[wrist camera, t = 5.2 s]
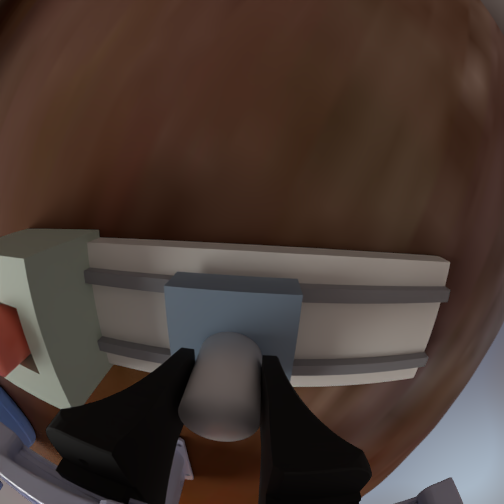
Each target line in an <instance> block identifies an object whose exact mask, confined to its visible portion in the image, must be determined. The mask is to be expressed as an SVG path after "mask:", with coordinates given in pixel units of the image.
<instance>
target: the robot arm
mask: <svg viewBox="0 0 504 504" xmlns="http://www.w3.org/2000/svg"><path fill="white" fill-rule="evenodd" d="M194 364H195V351H194V349H190V348H182V347H181V348H180V349H179V350H178V351H177V352H175V353H174V354H173V355H172V356H171V357H170V358H169V359H167V360H166V361H165V362H164V363H163V364H161V365H160V366H159V367H158V368H156V369H155V370H154V371H153V372H151V373H150V374H149V375H147V376H146V377H144V378H143V379H142V380H140V381H139V382H137V383H135V384H134V385H132V386H130V387H128V388H127V389H125V390H123V391H121V392H118V393H116V394H114V395H112V396H109V397H107V398H104V399H102V400H99V401H96V402H92V403H89V404H85V405H81V406H76V407H70V408H64V409H61V410H60V411H59V412H58V414H57V415H56V416H55V418H54V419H53V420H52V422H51V423H50V424H49V426H48V427H47V428H46V433H47V437H48V438H49V440H50V442H51V443H52V444H53V446H54V447H55V448H56V450H57V451H58V452H59V454H60V455H61V456H62V457H63V458H62V460H61V462H60V463H59V465H58V466H57V465H55V464H54V463H52V462H50V461H49V460H47V459H45V458H44V457H42V456H40V455H39V454H37V453H36V452H34V451H33V450H31V449H30V448H28V447H27V446H25V445H24V444H23V442H22V441H21V439H20V438H19V437H18V436H17V435H16V434H15V433H14V432H13V431H12V430H11V429H9V428H8V427H7V426H5V425H4V424H3V423H2V422H0V477H1V478H2V479H3V480H4V481H5V482H6V483H7V484H9V485H10V486H11V487H12V488H13V489H15V490H16V491H17V492H18V493H20V494H21V495H22V496H24V497H25V498H26V499H27V500H29V501H30V502H32V503H33V504H178V503H179V499H180V495H181V491H182V488H183V484H184V480H185V479H188V480H193V478H194V476H193V472H192V469H191V465H190V461H189V458H188V454H187V450H186V446H185V442H184V440H183V439H182V438H180V437H179V435H180V433H181V430H182V427H183V425H184V424H183V422H182V421H181V419H180V417H179V414H178V408H179V405H180V402H181V399H182V397H183V394H184V391H185V388H186V386H187V383H188V380H189V378H190V375H191V372H192V370H193V367H194ZM260 434H261V469H260V486H259V501H258V504H359V501H361V495H360V490H361V489H362V488H363V487H364V486H365V485H366V484H367V482H368V481H369V480H370V478H371V476H372V472H371V468H370V465H369V463H368V461H367V458H366V456H365V454H364V452H363V451H362V450H360V449H359V448H357V447H355V446H353V445H352V444H350V443H348V442H347V441H345V440H343V439H342V438H340V437H339V436H338V435H336V434H335V433H334V432H333V431H331V430H330V429H329V428H328V427H327V426H325V425H324V424H323V423H322V422H321V421H320V420H319V419H318V418H317V417H316V416H315V415H314V414H313V413H312V412H311V411H310V410H309V408H308V407H307V406H306V405H305V404H304V402H303V401H302V400H301V398H300V397H299V396H298V394H297V393H296V391H295V390H294V388H293V387H292V385H291V383H290V381H289V380H288V378H287V376H286V374H285V372H284V370H283V368H282V366H281V363H280V361H279V358H278V357H277V356H271V355H263V356H262V369H261V415H260ZM395 504H463V502H462V499H461V497H460V495H459V492H458V490H457V488H456V486H455V484H454V481H453V480H452V478H448V479H446V480H443V481H441V482H438V483H436V484H433V485H431V486H429V487H427V488H425V489H424V490H423V491H421V492H420V493H419V494H418V495H417V496H416V497H414V498H411V499H408V500H405V501H402V502H398V503H395Z"/></svg>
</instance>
